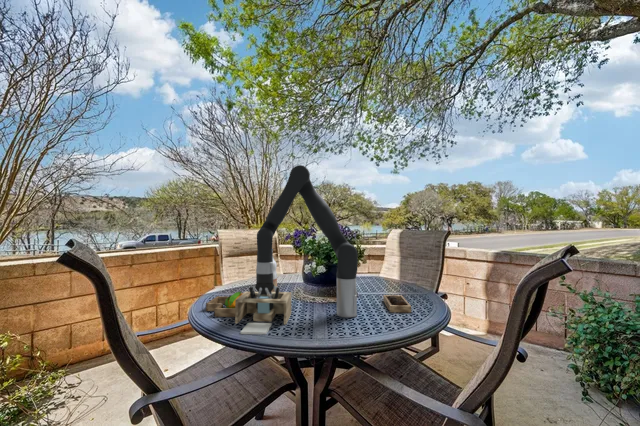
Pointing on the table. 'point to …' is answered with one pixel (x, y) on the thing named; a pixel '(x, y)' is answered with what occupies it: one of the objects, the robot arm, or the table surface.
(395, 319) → the table surface
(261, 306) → the block
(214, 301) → the corn rack
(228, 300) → the corn
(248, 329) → the tile
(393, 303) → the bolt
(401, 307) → the wooden tray
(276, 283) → the fruit juice
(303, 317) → the table surface
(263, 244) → the robot arm
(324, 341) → the table surface
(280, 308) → the frame
